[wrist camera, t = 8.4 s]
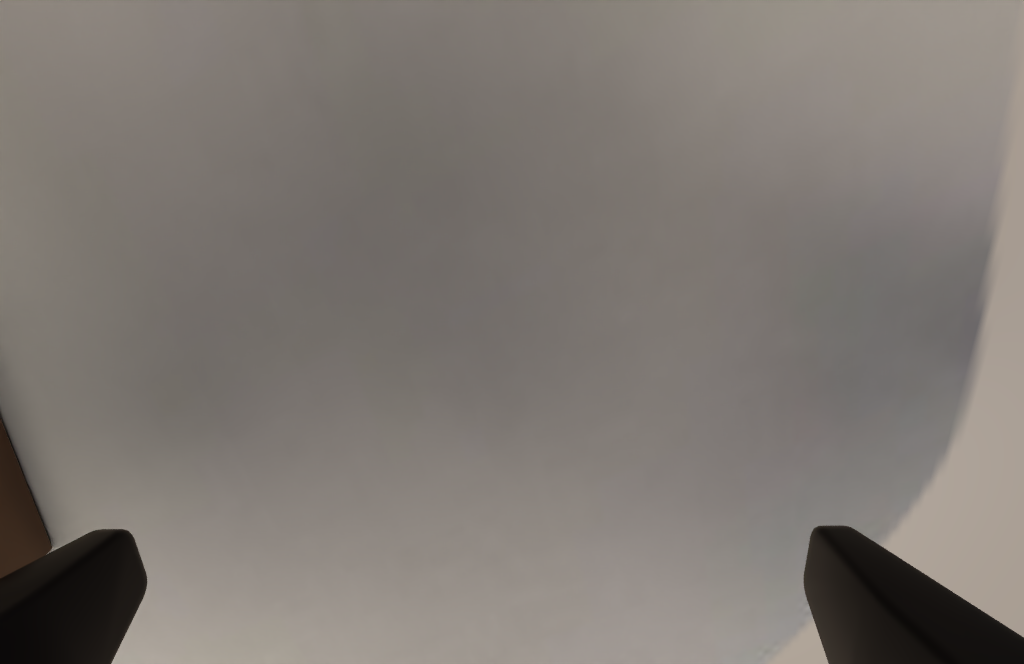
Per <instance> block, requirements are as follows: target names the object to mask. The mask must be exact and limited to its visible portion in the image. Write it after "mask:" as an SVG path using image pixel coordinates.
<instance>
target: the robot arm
mask: <svg viewBox="0 0 1024 664" xmlns="http://www.w3.org/2000/svg"><path fill="white" fill-rule="evenodd" d="M146 587H147V575H146V572H145V569H144V566H143V563H142V560H141V557H140V554H139V551H138V548H137V545H136V542H135V539H134V537H133V535H132V534H131V533H130V532H129V531H127V530H123V529H101V530H95V531H92V532H90V533H88V534H86V535H84V536H82V537H80V538H78V539H76V540H74V541H72V542H70V543H68V544H67V545H65V546H63V547H61V548H59V549H57V550H55V551H53V552H51V553H49V554H47V555H45V556H43V557H41V558H39V559H37V560H35V561H33V562H31V563H29V564H28V565H26V566H24V567H22V568H20V569H18V570H16V571H14V572H12V573H10V574H8V575H6V576H4V577H2V578H0V664H111V663H112V661H113V659H114V657H115V655H116V653H117V651H118V648H119V646H120V644H121V642H122V640H123V638H124V636H125V634H126V632H127V630H128V628H129V626H130V624H131V622H132V620H133V618H134V616H135V614H136V612H137V609H138V607H139V605H140V603H141V601H142V599H143V597H144V595H145V591H146ZM804 589H805V594H806V597H807V601H808V604H809V606H810V609H811V612H812V615H813V618H814V621H815V624H816V627H817V630H818V633H819V636H820V639H821V642H822V645H823V648H824V651H825V653H826V657H827V660H828V663H829V664H1024V637H1022V636H1020V635H1019V634H1017V633H1016V632H1014V631H1013V630H1011V629H1009V628H1008V627H1006V626H1005V625H1003V624H1002V623H1000V622H999V621H997V620H995V619H994V618H992V617H991V616H989V615H988V614H986V613H984V612H983V611H981V610H980V609H978V608H977V607H975V606H974V605H972V604H970V603H969V602H967V601H966V600H964V599H963V598H961V597H960V596H958V595H956V594H955V593H953V592H952V591H950V590H949V589H947V588H945V587H944V586H942V585H940V584H939V583H938V582H936V581H935V580H933V579H931V578H930V577H928V576H927V575H925V574H924V573H922V572H921V571H919V570H917V569H916V568H914V567H913V566H911V565H910V564H908V563H906V562H905V561H903V560H902V559H900V558H899V557H897V556H896V555H894V554H892V553H891V552H889V551H888V550H886V549H885V548H883V547H882V546H880V545H878V544H877V543H875V542H874V541H872V540H871V539H869V538H867V537H866V536H864V535H863V534H861V533H860V532H858V531H857V530H855V529H853V528H851V527H849V526H818V527H816V528H814V529H813V531H812V533H811V536H810V542H809V548H808V554H807V560H806V565H805V571H804Z"/></svg>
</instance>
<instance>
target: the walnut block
mask: <svg viewBox="0 0 1024 664" xmlns="http://www.w3.org/2000/svg"><path fill="white" fill-rule="evenodd" d="M51 549H52V545H51V543H50V540H49V538H48V535H47V533H46V530H45V528H44V525H43V523H42V520H41V518H40V515H39V513H38V510H37V508H36V505H35V503H34V500H33V498H32V495H31V493H30V491H29V488H28V486H27V483H26V481H25V478H24V476H23V473H22V471H21V468H20V466H19V463H18V461H17V458H16V456H15V453H14V451H13V448H12V446H11V443H10V441H9V438H8V436H7V433H6V431H5V428H4V426H3V423H2V421H1V418H0V578H2V577H4V576H6V575H8V574H10V573H12V572H14V571H16V570H18V569H20V568H22V567H24V566H26V565H28V564H29V563H31V562H33V561H35V560H37V559H39V558H41V557H43V556H45V555H46V554H47V553H48V552H50V551H51Z"/></svg>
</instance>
